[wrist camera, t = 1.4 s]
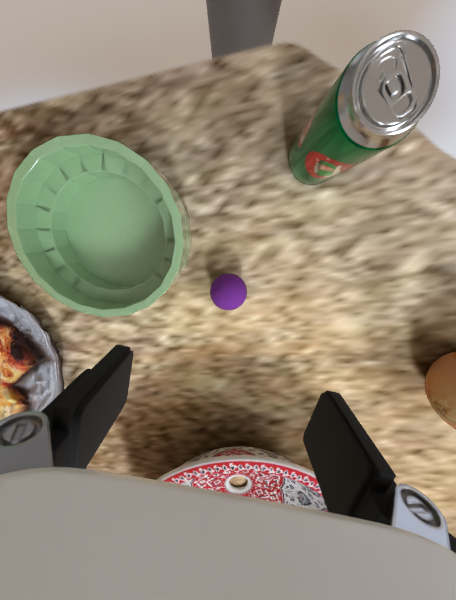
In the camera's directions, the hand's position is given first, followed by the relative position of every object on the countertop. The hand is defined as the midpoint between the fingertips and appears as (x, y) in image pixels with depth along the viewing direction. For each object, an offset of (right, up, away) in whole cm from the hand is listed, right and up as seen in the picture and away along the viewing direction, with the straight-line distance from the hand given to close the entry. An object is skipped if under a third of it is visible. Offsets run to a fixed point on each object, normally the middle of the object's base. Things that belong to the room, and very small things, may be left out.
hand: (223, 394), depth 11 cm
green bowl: (-12, +12, +14) cm, 22 cm away
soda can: (+9, +19, +12) cm, 24 cm away
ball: (0, +5, +14) cm, 15 cm away
